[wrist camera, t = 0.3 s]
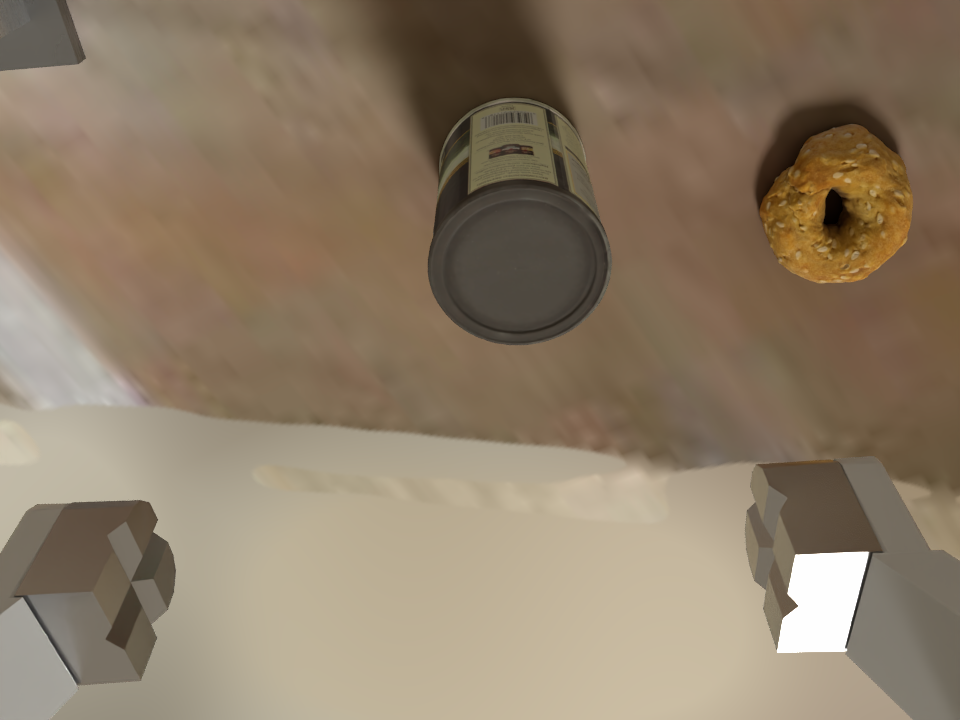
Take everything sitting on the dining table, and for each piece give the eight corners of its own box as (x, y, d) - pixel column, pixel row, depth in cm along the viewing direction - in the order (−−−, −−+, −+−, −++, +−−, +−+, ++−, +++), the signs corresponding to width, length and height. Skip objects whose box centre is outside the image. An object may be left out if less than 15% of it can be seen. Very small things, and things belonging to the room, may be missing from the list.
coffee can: (487, 259, 63) (487, 372, 52) (410, 145, 58) (391, 242, 46) (613, 193, 60) (642, 298, 48) (543, 66, 55) (558, 150, 43)
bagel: (916, 114, 57) (947, 141, 53) (883, 259, 63) (909, 292, 59) (765, 124, 57) (785, 152, 53) (747, 267, 64) (764, 301, 60)
